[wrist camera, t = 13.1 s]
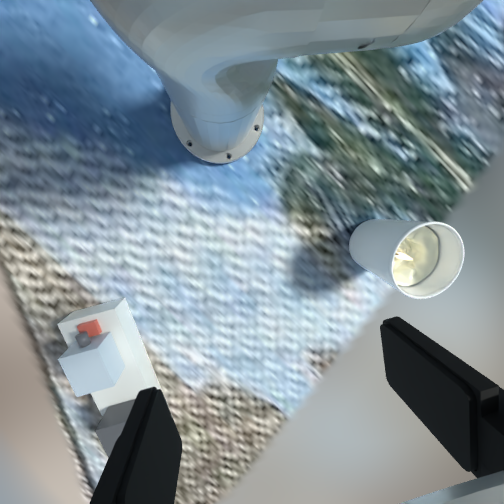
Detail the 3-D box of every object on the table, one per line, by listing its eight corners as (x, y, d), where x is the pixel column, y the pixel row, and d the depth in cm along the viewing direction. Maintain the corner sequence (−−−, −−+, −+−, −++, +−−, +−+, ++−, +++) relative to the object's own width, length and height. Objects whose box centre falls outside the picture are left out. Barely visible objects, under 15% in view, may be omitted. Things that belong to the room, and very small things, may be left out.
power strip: (73, 311, 39) (53, 327, 34) (124, 297, 39) (112, 311, 35) (128, 430, 45) (117, 457, 40) (172, 417, 45) (167, 442, 41)
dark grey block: (118, 386, 43) (95, 430, 35) (147, 378, 43) (131, 420, 35) (134, 421, 45) (115, 470, 37) (161, 413, 45) (149, 460, 37)
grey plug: (86, 317, 39) (52, 348, 31) (118, 308, 40) (92, 337, 32) (104, 358, 41) (76, 397, 33) (134, 349, 42) (114, 386, 34)
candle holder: (355, 281, 44) (404, 312, 32) (335, 231, 41) (380, 245, 30) (405, 255, 44) (472, 277, 32) (388, 203, 41) (454, 207, 30)
